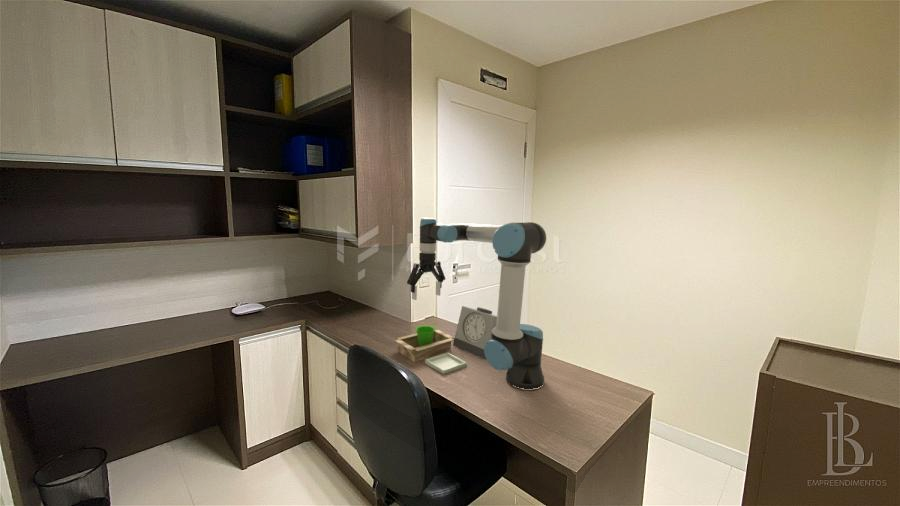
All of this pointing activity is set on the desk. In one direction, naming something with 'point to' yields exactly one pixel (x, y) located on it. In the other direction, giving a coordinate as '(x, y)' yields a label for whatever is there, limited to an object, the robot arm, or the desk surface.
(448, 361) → the tray
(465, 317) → the alarm clock
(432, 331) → the cup
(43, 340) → the desk surface
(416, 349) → the wooden box
